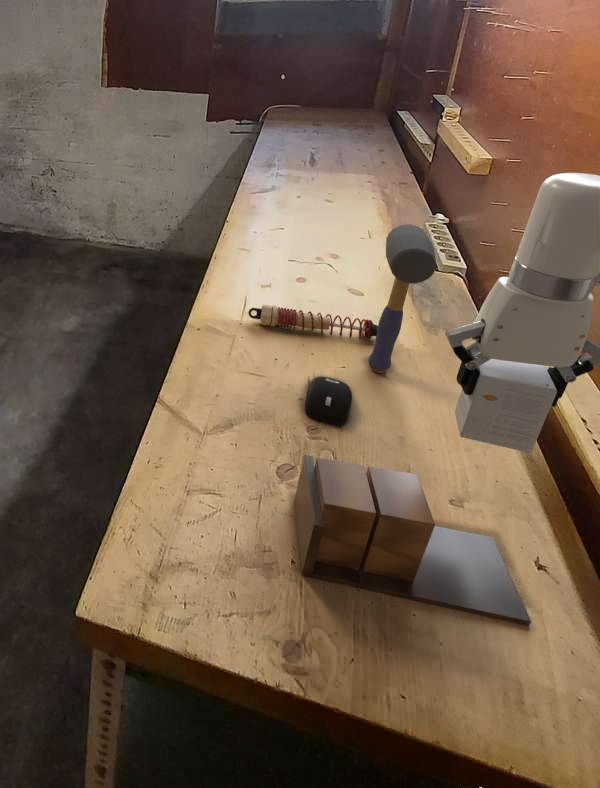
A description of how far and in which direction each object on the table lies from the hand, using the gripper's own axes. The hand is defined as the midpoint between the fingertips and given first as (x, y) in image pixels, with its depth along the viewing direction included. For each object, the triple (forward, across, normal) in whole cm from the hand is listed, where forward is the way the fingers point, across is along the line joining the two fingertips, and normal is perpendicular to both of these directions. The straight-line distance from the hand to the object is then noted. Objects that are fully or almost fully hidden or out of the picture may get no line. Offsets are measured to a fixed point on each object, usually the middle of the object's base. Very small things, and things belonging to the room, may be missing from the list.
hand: (504, 393), depth 74 cm
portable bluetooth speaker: (+22, +16, -20) cm, 34 cm away
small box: (+7, 0, 0) cm, 7 cm away
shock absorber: (+22, +15, -45) cm, 52 cm away
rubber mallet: (+22, +5, -33) cm, 40 cm away
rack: (+22, +10, +11) cm, 26 cm away
